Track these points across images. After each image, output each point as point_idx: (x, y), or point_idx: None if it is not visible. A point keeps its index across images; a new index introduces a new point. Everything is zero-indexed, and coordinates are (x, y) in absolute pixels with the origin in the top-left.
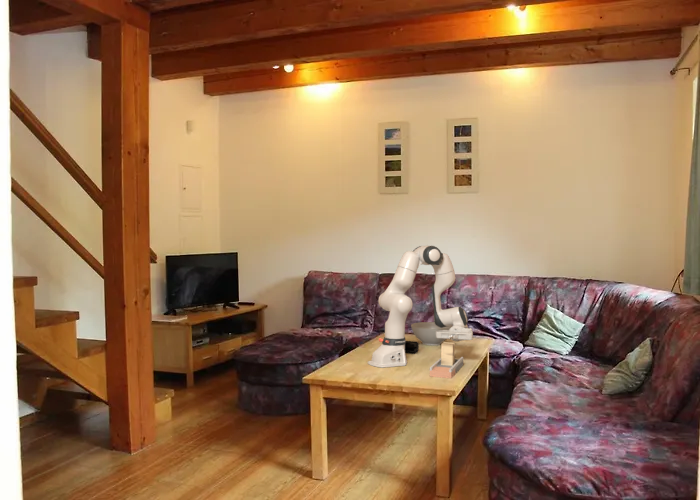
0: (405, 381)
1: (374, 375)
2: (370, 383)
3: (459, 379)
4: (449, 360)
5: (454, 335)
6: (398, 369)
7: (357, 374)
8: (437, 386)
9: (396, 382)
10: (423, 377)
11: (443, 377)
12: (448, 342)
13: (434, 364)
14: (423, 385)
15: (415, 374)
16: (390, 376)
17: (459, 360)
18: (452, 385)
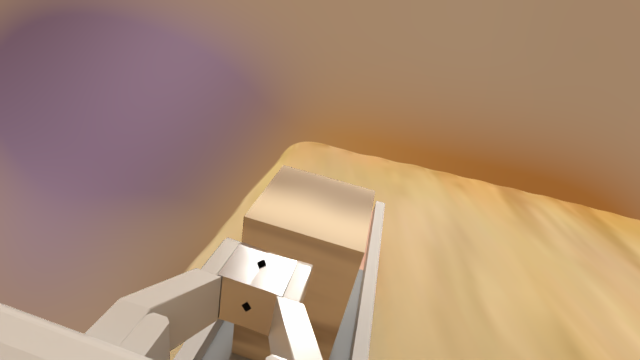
0: (435, 194)
1: (569, 250)
2: (512, 188)
3: (257, 197)
4: None
5: (214, 264)
6: (565, 346)
7: (631, 263)
8: (336, 157)
9: (454, 189)
10: (394, 223)
11: None
12: (314, 233)
13: (374, 242)
14: (374, 166)
15: (438, 259)
16: (510, 238)
17: (188, 343)
18: (293, 159)
